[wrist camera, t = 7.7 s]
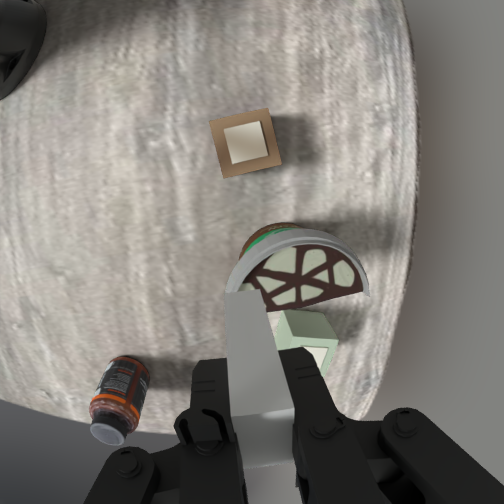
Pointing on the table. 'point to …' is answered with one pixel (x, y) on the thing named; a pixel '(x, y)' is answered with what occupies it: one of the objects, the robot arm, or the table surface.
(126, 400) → the supplement bottle
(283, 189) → the table surface
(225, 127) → the walnut block
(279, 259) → the food container
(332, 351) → the sage block
